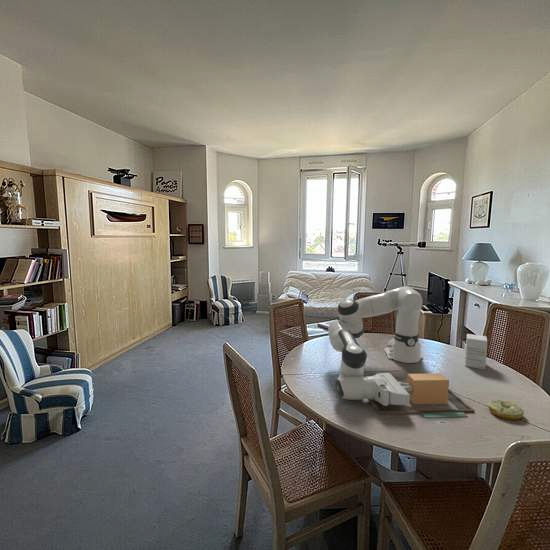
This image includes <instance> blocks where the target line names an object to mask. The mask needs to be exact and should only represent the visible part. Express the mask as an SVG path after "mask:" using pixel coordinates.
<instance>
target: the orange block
mask: <svg viewBox="0 0 550 550" xmlns="http://www.w3.org/2000/svg"><path fill="white" fill-rule="evenodd" d="M406 375H407V377H406V383H409V384H410V385H411V386H412V387H413V389H412V391H407V392H408V393H409V395H410V403H411V402H412V403H411V404H412V405H441V404H443V405H444V404H445V405H447V404H448V403H449V402H448V401H449V400H448V390H449V389H450V387H449V385H450V379H449V378H447V376H445V375H444V374H442V373H407V374H406Z"/></svg>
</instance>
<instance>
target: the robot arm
mask: <svg viewBox="0 0 550 550" xmlns="http://www.w3.org/2000/svg"><path fill="white" fill-rule="evenodd" d="M423 302H424V301H423V298H422V294H420V292H418V291H417V290H415V289H414V288H412V287H411V286H408V285H407V286H406V285H403V286H401V287H397V288H394V289H391V290H388V291H385V292H383V293H379V294H374V295H370V296H365V297H362V298H360V299H357V300H354V299H345V300H344V299H343V301H341V302H340V303H338V305H337V312H338V316H339V319H336V320H332V321H331V322H330V323H329V325H328V330H327V331H328V340H329V342H330V345H331V347H332V348H333V349H334V350H335V351H336V352H338V353H339V352H340V353H341V363H340V371H339V375H338V377H337V378H336V379H335V382H334V383H335V385H334V387H335V392H336V394H337V395H338V397H340V398H341V399H344V400H354V401H357V400H358V401H359V400H360V401H361V400H363V399H367V400H369V399H374V400H376V401H378V402H379V403H381V404H382V405H384V406H386V407H388V406H389V405H392V406H402V405H408V404H409V403H411V401H410V395H409V393H408V392H407V391H412V389H413V387H412V386H411V385H410V384H409V383H407V382H402V381H398V380H397V378H395V377H394V375H392V373H389V372H381V373H376V374H374V375H372V376H371V375H370V376H369V375H367V376H364V372H365V365H366V361H367V357H368V355H367V354H368V353H367V351H366V350H365V349H364V348H363V347H362V346H360V344H359V343H358V342H357V339H359V338H360V337H362V336H363V334H364V331H365V329H364V327H365V326H364V325H363V323H364V322H363V318H370V317H376V316H381V315H386V314H389V313H392V312H394V311H396V310H398V311H397V314H396V319H395V321H396V322H395V330H394V335H393V338H391V340H389V342H388V343H387V346H386V347H384V349H383V350H384V352H386V353H385V354H387V355H386V356H387V359H388V360H392V359H393V361H396V362H401V363H403V364H404V363H407V364H414V363H419V362H420V361H421V360H422V359H424V358H423V355H421V354H422V353H421V350H422V349H421V343H420V342H419V337H420V335H419V319H420V315H421V312H422V311H421V310H422V306H423Z"/></svg>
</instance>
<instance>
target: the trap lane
mask: <svg viewBox="0 0 550 550" xmlns="http://www.w3.org/2000/svg"><path fill="white" fill-rule="evenodd" d="M368 401H369V402H370V404H371V405H372V407H373V409H374V411H375V412H376V413H377V415H403V414H406V415H408V414H421V415H422V416H423V417H424V418H425V419H426V418H427V419H432V418H433V419H435V418H437V419H438V418H468V417H469V416H468V415H467V413H475V411H476V410H475V409H474V408H472V406H471V405H469V404H468V403H466V402H465V401H464V400H463V399H462V398H461V397H460V396H458V395H457V394H456V393H455V392H454V391H452V390H451V389H450V388H449V390H448V401H450V403H452V404H453V406H455V407H456V408H457V409H456V408H455V409H453V408H452V409H450V408H449V409H402V410H400V409H399V410H398V409H396V410H395V409H394V410H389V408H388V406H384V405H382V404H381V403H379V402H378V401H376V400H374V399H368Z"/></svg>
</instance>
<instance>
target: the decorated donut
mask: <svg viewBox="0 0 550 550" xmlns="http://www.w3.org/2000/svg"><path fill="white" fill-rule="evenodd" d="M487 405H488V408H489V409H488V410H489V411H490V413H491V414H492V415H494V416H496V417H498V418H502V419H504V420H512V421H517V420H521V418H522V417H524V414H525V411H524V409H523V408H522V406H519V405H518V404H517V403H514V402H513V401H510V400H506V399H493V400H491V401H489V402H488V404H487Z"/></svg>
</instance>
